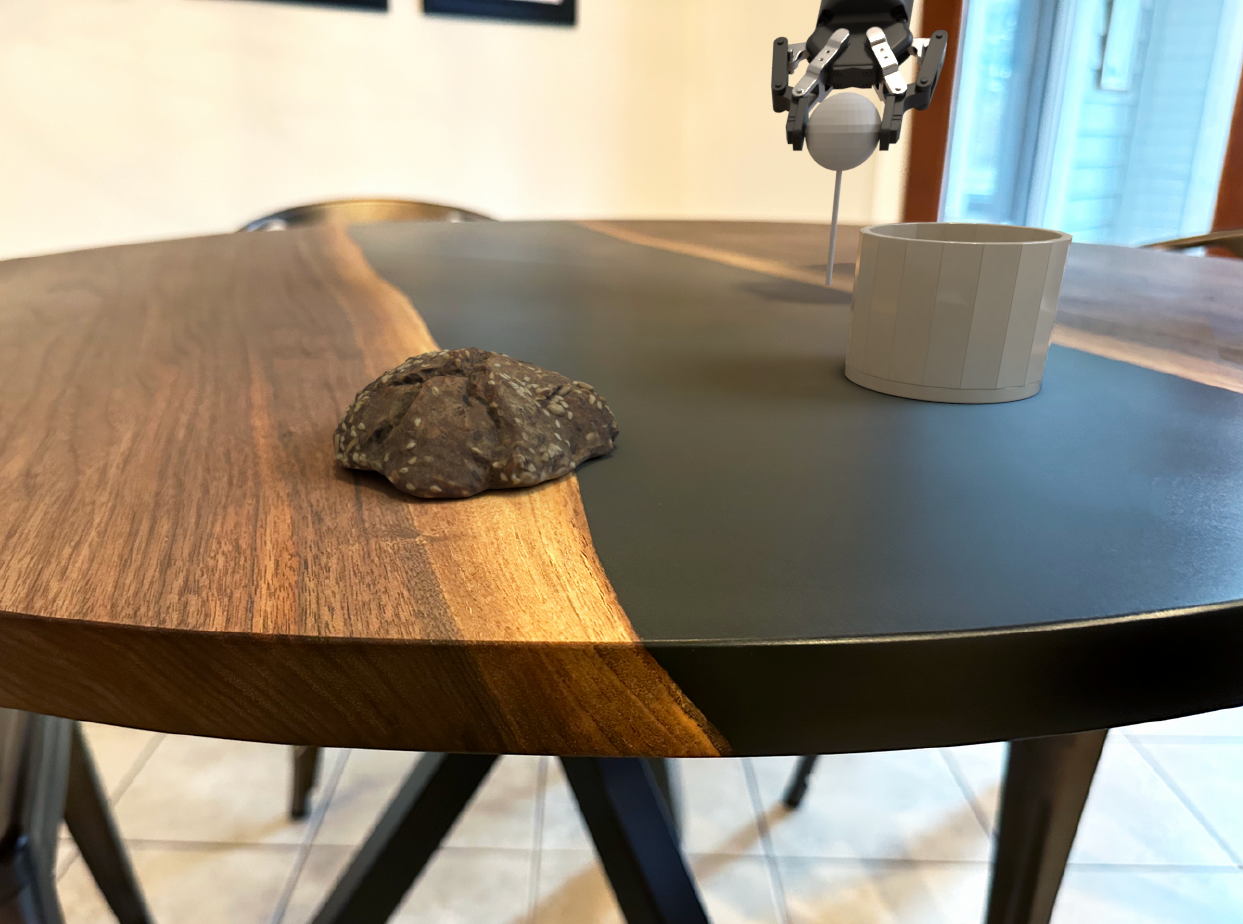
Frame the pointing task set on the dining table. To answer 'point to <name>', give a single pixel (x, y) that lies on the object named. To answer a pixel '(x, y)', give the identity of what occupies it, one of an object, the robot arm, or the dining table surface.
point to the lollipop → (842, 143)
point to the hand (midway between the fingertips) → (840, 142)
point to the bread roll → (472, 424)
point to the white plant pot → (954, 309)
